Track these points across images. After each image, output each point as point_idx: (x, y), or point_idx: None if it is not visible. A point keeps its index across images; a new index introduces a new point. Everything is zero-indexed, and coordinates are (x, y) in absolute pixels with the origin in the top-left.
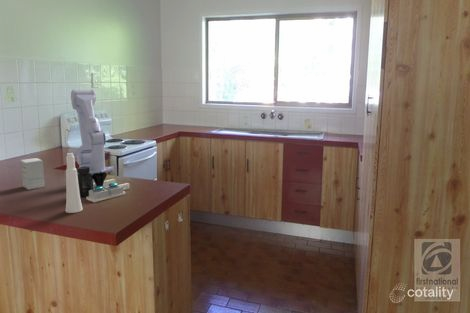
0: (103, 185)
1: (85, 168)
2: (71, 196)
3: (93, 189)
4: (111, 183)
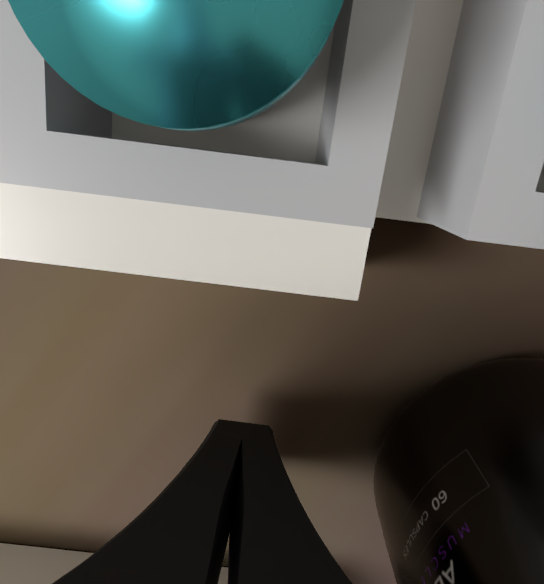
0: (51, 576)
1: None
2: None
3: None
4: (184, 51)
